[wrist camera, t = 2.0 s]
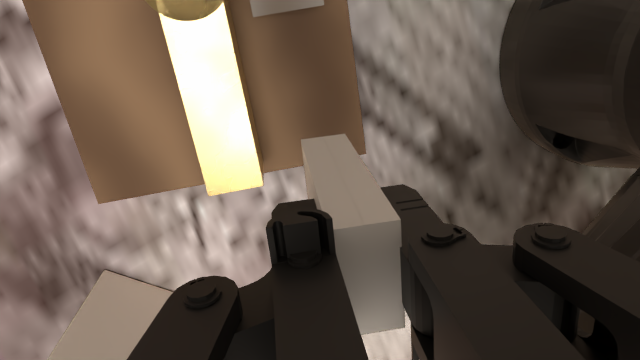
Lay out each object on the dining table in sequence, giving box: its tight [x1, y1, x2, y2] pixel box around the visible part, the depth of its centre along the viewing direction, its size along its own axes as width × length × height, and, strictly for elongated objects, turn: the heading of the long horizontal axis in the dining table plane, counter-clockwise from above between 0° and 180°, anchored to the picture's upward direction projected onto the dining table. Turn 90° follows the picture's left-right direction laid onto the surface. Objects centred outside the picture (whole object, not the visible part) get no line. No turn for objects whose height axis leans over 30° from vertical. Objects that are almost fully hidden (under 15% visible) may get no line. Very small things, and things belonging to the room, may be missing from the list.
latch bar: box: [145, 0, 264, 196], centre depth 24 cm, size 13×4×4 cm, turn 9°
